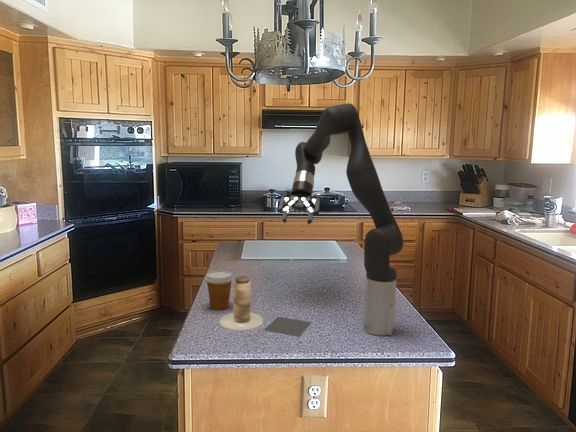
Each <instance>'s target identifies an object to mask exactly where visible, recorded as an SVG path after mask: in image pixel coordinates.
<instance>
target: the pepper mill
mask: <svg viewBox="0 0 576 432" xmlns="http://www.w3.org/2000/svg"><path fill="white" fill-rule="evenodd" d="M251 282H252V281H251V279H250V277H249V276H244V275H242V276H236V277H235V279H234V281H233V313H234V321H235V322H237V323H246V322H249V321H250V312H251V298H252V297H251V294H252V293H251Z"/></svg>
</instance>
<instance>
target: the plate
mask: <svg viewBox="0 0 576 432" xmlns="http://www.w3.org/2000/svg"><path fill="white" fill-rule="evenodd" d="M263 324H264V318H263V316H262V315H261V314H258V313H255V312H251V311H250V321H249V322H246V323H237V322H235V321H234V312H230V313H227V314H225V315H223V316H222V317H220V319H219V326H221V327H222V328H223V329H225V330H228V331H233V332H246V331H252V330H256V329H259V328H261V326H263Z"/></svg>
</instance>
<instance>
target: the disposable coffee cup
mask: <svg viewBox="0 0 576 432" xmlns="http://www.w3.org/2000/svg"><path fill="white" fill-rule="evenodd" d="M233 279H234V276H233V274H232V273H231V272H230V271H227V270H226V271H225V270H216V271H215V270H213V271H209V272H208V273H207V274H206V277H205V280H206V285H207V293H208V297H209V298H208V299H209V304H210V309H212V310H215V311H217V310H218V311H222V310H226V309H228V308H229V304H230V298H231V297H230V296H231V289H232V288H231V287H232V281H233Z"/></svg>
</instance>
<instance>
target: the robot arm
mask: <svg viewBox="0 0 576 432" xmlns="http://www.w3.org/2000/svg"><path fill="white" fill-rule="evenodd" d="M346 133H347V134H348V137H349V141H350V153H349V157H348V160H347V165H346V177H347V180H348V183H349V186H350V189H351V191H352V194H353V196H354V197H355V198H356V199H357V201H358V202H359V203H360V204H361V205H362V206H363V208H364V209H365V210H366V211H367V212H368V213H369V216H370V217H371V219H372V221H373V225H374V227H375V228H371V229H370V230H369V231H368V232H367V233H366V234H365V236H364V242H363V243H364V244H363V260H364V261H363V263H364V264H363V265H364V269H365V272H366V273H365V274H366V276H365V278H366V279H365V301H364V318H363V319H364V320H363V330H364V331H365V332H366V333H368V334H370V335H374V336H392V335H393V333H394V331H395V329H396V326H395V325H396V310H397V300H396V293H397V292H396V291H397V290H396V289H397V275H398V272H397V269H396V268H394V267H393V266H390V265H391V264H390V260H391V259H390V257H391V256H395V255H397V254H398V253H400V252H401V251H402V249H403V246H404V238H403V237H404V236H403V234H402V232H401V231H402V230H401V229H400V227H399V225H398V222H397V220H396V219H395V218H396V217H394V215H393V212H392V210H391V208H390V206H389V203H388V200H387V197H386V195H385V192H384V190H383V187H382V184H381V179H380V178H379V175H378V172H377V169H376V167H375V164H374V161H373V159H372V157H371V153H370V151H369V148H368V145H367V142H366V139H365V138H366V137H365V134H364V131H363V126H362V123H361V120H360V116H359V113H358V110H357V108H356V107H355V106H354V104H352V103H350V102H349V103H343V104H335V105H331V106H328V107H326V108H325V109H324V110H323V112H322V113H321V115H320V117H319V120H318V122H317V125H316V127H315V130H314V132H313V133H312V135H311V136H310V137H309V138H308V140H307V141H300V142H299V143H298V144H297V146H295V152H294V155H295V161H296V171H295V176H294V178H293V181H292V183H293V184H292V187H291V193H290V196H289V197H286V196H285V195H282V196H281V198H280V202H279V205H278V211H279V214H282V215H281V216H282V217H281V219H282V222H283V223H284V224H286V223H287V220H288V214H289V213H290V212H291V213H292V212H293V210H296V211H304V210H305V211H306V212H307V213H308V215H307V221H306V222H307V225H311V224H312V223H313V220H314V219H313V218H314V216H315V215H316V216H319V215H320V204H321V203H320V198H319V197H316V198H312V197H313V190H314V187H315V186H314V184H315V174H316V166H315V165H318V164H319V163H320V162H321V160H322V157H323V152H324V151H325V150H326V149H327V148H328V147H329V145H330V143H331V136H333V135H341V134H346ZM311 204H313V205H314V206H315V207H314V209H313V208H312V206H311ZM285 205H286V206H285Z"/></svg>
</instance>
